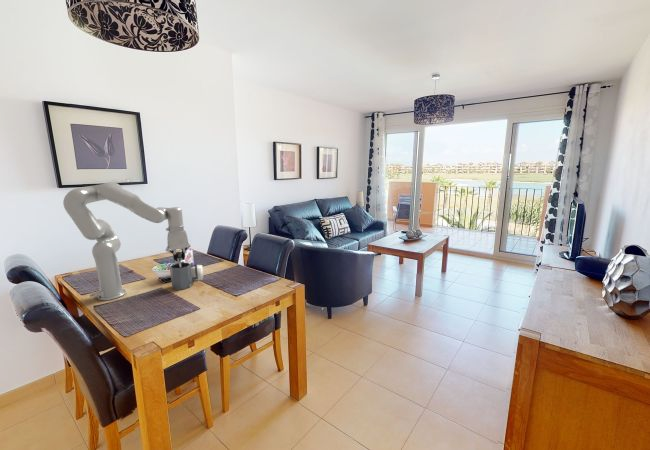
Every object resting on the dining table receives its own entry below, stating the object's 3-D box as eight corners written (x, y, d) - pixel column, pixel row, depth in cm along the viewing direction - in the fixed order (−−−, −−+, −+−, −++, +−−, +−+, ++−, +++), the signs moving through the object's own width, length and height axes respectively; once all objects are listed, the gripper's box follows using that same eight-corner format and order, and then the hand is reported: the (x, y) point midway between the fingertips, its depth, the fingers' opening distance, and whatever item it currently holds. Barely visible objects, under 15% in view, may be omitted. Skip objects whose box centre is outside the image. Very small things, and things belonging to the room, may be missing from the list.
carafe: (176, 291, 162) (173, 269, 159) (170, 286, 169) (167, 265, 167) (201, 284, 172) (199, 264, 169) (194, 279, 179) (192, 260, 176)
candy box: (185, 279, 180) (182, 254, 177) (175, 278, 181) (173, 254, 177) (195, 271, 194) (192, 248, 191) (186, 271, 194) (184, 248, 191)
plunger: (177, 288, 164) (173, 255, 160) (173, 284, 169) (169, 252, 165) (191, 284, 169) (188, 252, 165) (186, 280, 174) (183, 249, 170)
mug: (193, 281, 176) (192, 269, 174) (188, 277, 183) (187, 265, 181) (205, 278, 181) (204, 266, 179) (199, 274, 187) (198, 263, 186)
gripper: (162, 232, 154) (166, 264, 158) (193, 227, 165) (196, 258, 169) (158, 230, 159) (162, 261, 163) (188, 226, 171) (191, 255, 174)
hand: (179, 259), depth 166 cm, fingers closed on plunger, 3 cm apart
